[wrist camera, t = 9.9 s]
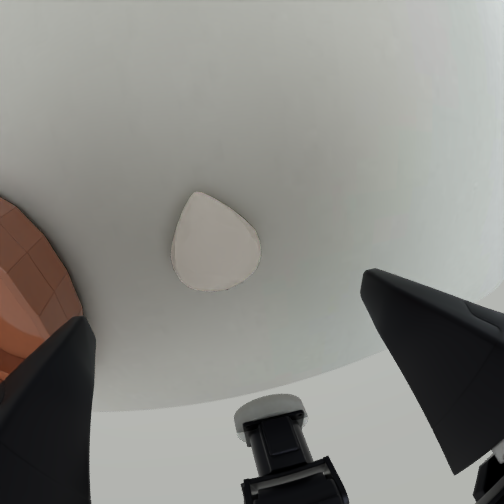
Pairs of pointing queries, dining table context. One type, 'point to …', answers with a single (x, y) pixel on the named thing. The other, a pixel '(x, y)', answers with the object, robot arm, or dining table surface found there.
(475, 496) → the robot arm
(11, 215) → the bowl
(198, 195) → the garlic clove
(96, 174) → the dining table surface
